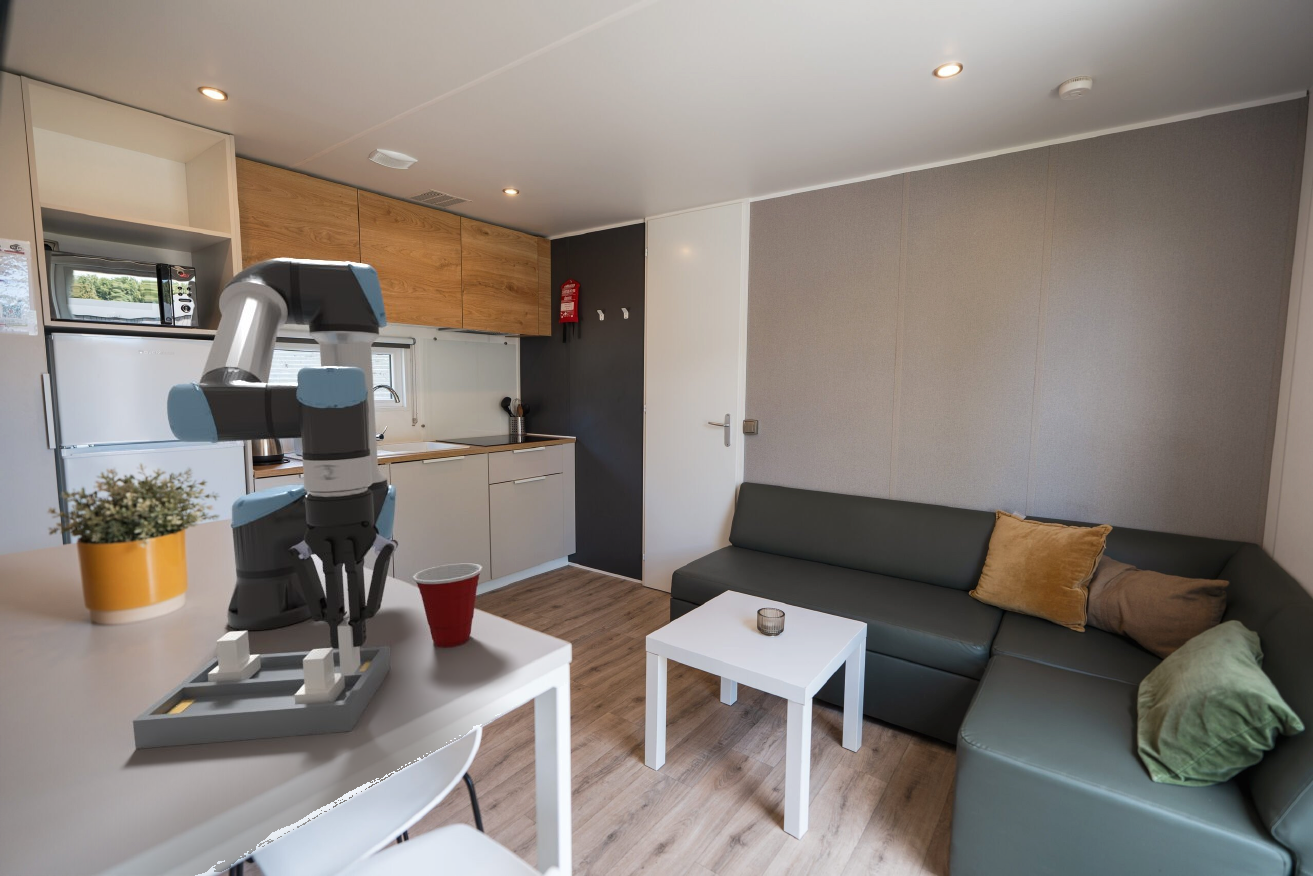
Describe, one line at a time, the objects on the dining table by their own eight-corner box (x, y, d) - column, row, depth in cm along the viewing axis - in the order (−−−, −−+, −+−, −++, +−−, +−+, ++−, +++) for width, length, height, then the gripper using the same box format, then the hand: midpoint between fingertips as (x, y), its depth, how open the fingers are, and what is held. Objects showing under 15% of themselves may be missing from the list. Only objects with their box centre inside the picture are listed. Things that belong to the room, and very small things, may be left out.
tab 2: (312, 689, 79) (309, 646, 78) (344, 687, 80) (342, 644, 79) (295, 710, 74) (292, 664, 73) (329, 707, 75) (326, 661, 74)
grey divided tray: (216, 680, 86) (213, 657, 86) (390, 668, 89) (389, 646, 89) (135, 749, 70) (132, 720, 70) (351, 731, 74) (349, 704, 73)
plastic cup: (467, 620, 107) (465, 555, 105) (496, 640, 99) (494, 569, 98) (406, 638, 99) (402, 569, 98) (431, 661, 92) (428, 585, 90)
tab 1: (230, 669, 85) (226, 629, 84) (260, 667, 85) (257, 627, 84) (209, 688, 80) (205, 645, 79) (241, 685, 80) (238, 642, 80)
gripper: (268, 498, 70) (282, 689, 72) (385, 494, 72) (395, 680, 74) (296, 486, 77) (309, 660, 80) (402, 483, 79) (411, 653, 82)
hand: (350, 669), depth 77 cm, fingers closed
